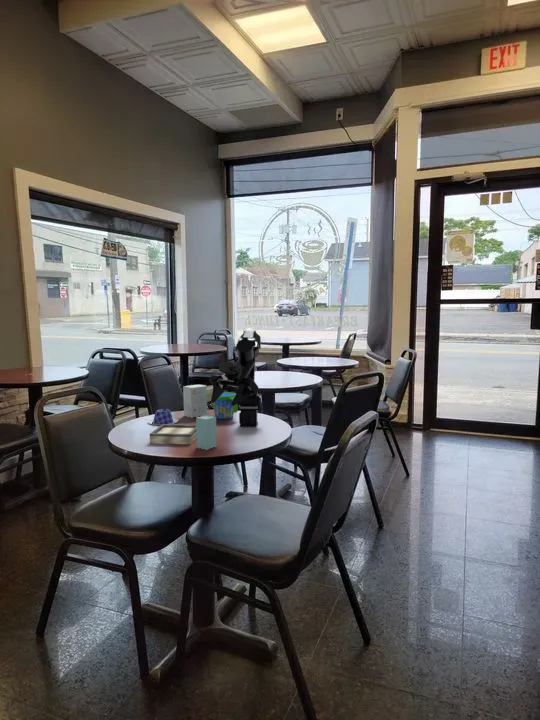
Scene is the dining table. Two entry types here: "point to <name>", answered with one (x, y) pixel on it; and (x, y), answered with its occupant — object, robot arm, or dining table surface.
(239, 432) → the dining table surface
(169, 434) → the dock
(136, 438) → the dining table surface
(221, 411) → the snack cup
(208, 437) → the teal block
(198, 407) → the small box
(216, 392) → the robot arm
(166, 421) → the checkered hat
